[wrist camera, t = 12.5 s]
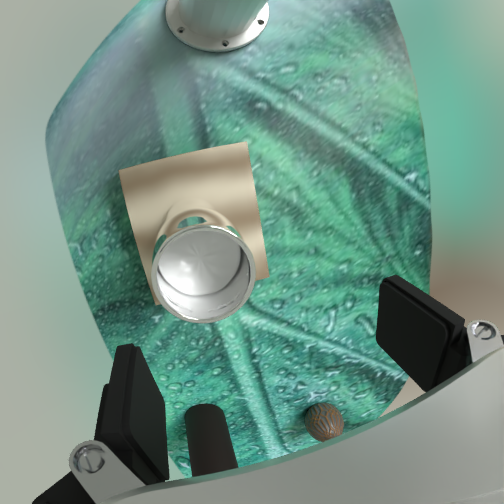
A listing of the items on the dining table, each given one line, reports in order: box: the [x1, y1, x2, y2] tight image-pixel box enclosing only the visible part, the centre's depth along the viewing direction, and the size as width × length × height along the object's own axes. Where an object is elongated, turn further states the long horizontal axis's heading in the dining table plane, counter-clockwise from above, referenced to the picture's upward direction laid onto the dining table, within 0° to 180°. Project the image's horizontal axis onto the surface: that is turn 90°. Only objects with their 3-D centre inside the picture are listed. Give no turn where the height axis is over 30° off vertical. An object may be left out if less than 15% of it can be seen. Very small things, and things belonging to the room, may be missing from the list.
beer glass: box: [151, 197, 256, 323], centre depth 25 cm, size 7×7×15 cm
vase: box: [305, 403, 344, 442], centre depth 47 cm, size 7×7×9 cm
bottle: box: [185, 404, 238, 477], centre depth 36 cm, size 7×7×20 cm
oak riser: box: [118, 142, 269, 305], centre depth 34 cm, size 16×14×3 cm
